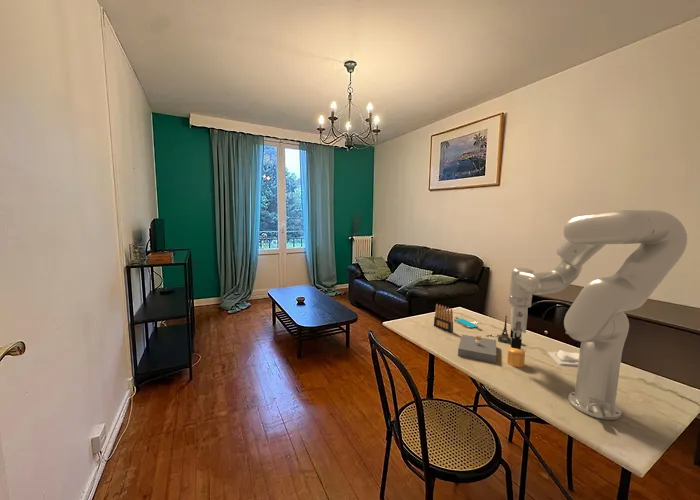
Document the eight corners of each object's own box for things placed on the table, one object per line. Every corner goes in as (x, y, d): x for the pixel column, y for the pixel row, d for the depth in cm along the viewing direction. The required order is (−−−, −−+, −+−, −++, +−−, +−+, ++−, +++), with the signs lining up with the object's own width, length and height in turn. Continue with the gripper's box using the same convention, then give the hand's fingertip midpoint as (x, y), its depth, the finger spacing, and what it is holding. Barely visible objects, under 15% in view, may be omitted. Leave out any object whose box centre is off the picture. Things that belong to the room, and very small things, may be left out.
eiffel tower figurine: (528, 347, 136) (530, 318, 134) (510, 350, 132) (512, 320, 131) (501, 334, 150) (503, 307, 148) (484, 337, 146) (486, 309, 145)
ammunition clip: (433, 326, 158) (434, 303, 157) (436, 325, 160) (437, 302, 158) (450, 332, 150) (451, 309, 148) (453, 332, 151) (454, 308, 149)
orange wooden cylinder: (524, 368, 116) (525, 354, 116) (507, 365, 119) (508, 351, 118) (523, 361, 121) (524, 348, 121) (507, 358, 124) (508, 346, 123)
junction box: (495, 362, 120) (496, 346, 119) (457, 355, 126) (458, 340, 125) (495, 346, 135) (496, 332, 134) (461, 340, 140) (462, 326, 140)
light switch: (547, 345, 129) (581, 347, 127) (546, 355, 130) (581, 356, 127) (559, 357, 119) (597, 359, 116) (558, 368, 119) (596, 369, 117)
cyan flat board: (492, 330, 155) (492, 327, 155) (472, 333, 151) (473, 329, 151) (465, 317, 174) (465, 314, 174) (447, 319, 170) (447, 316, 170)
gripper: (533, 309, 108) (528, 354, 110) (529, 295, 123) (524, 336, 126) (509, 305, 111) (504, 350, 114) (508, 293, 126) (504, 332, 129)
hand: (515, 342), depth 120 cm, fingers open, 9 cm apart
